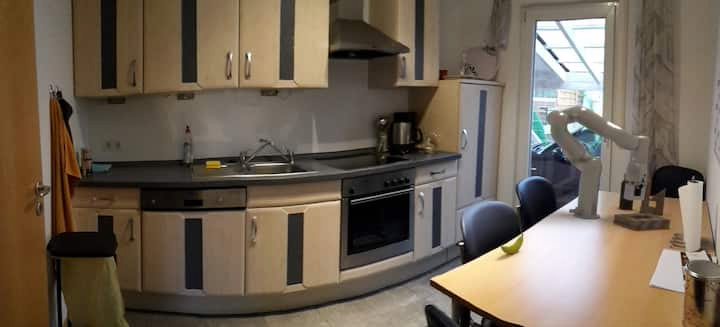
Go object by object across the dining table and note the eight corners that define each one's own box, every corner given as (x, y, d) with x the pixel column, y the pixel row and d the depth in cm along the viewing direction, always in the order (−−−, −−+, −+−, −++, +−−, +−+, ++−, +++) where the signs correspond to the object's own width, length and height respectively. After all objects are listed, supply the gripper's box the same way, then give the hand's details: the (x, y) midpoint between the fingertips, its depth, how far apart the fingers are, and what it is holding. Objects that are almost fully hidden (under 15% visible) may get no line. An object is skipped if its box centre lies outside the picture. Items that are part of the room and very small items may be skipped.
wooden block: (662, 215, 284) (665, 182, 281) (639, 212, 290) (642, 180, 287) (662, 214, 287) (666, 181, 284) (640, 211, 293) (643, 179, 290)
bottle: (634, 210, 294) (637, 174, 291) (620, 209, 296) (624, 174, 293) (630, 208, 301) (633, 173, 298) (617, 207, 302) (620, 172, 299)
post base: (634, 230, 251) (635, 221, 250) (613, 223, 264) (614, 214, 264) (669, 228, 256) (670, 219, 255) (646, 221, 269) (647, 212, 269)
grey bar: (629, 200, 271) (631, 184, 270) (623, 198, 275) (625, 183, 274) (643, 200, 274) (645, 184, 272) (637, 198, 277) (639, 183, 276)
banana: (496, 258, 204) (497, 242, 203) (518, 248, 218) (519, 233, 217) (503, 260, 202) (504, 243, 201) (525, 249, 216) (526, 234, 215)
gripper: (620, 157, 278) (616, 191, 281) (645, 162, 262) (640, 198, 265) (632, 157, 280) (628, 191, 283) (657, 162, 264) (652, 198, 267)
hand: (634, 194), depth 274 cm, fingers closed on grey bar, 4 cm apart
